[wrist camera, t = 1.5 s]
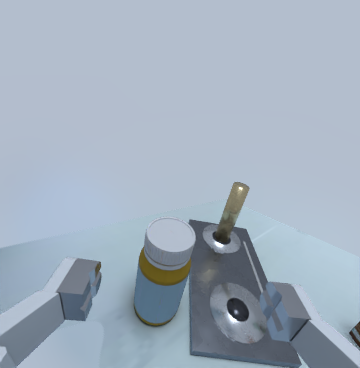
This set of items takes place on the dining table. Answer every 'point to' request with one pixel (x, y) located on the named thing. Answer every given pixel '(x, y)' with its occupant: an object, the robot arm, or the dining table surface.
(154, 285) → the bottle
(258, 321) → the gauge plate
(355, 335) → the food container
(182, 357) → the dining table surface
